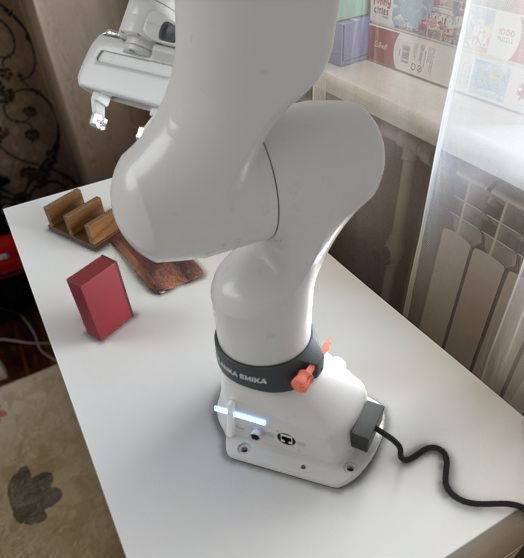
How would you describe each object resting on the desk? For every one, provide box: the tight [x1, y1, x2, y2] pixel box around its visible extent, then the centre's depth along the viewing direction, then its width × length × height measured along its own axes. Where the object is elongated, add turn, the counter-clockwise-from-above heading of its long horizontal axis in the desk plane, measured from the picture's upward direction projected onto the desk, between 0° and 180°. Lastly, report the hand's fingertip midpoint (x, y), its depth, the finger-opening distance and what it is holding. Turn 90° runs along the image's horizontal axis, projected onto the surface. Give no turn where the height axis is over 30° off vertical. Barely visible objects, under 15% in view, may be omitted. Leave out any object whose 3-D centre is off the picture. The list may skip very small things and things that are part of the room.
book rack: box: [42, 187, 121, 253], centre depth 104 cm, size 14×9×5 cm, turn 54°
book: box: [65, 254, 135, 342], centre depth 82 cm, size 3×7×11 cm, turn 144°
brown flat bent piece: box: [111, 232, 204, 295], centre depth 100 cm, size 26×2×10 cm
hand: (118, 135), depth 75 cm, fingers open, 8 cm apart
